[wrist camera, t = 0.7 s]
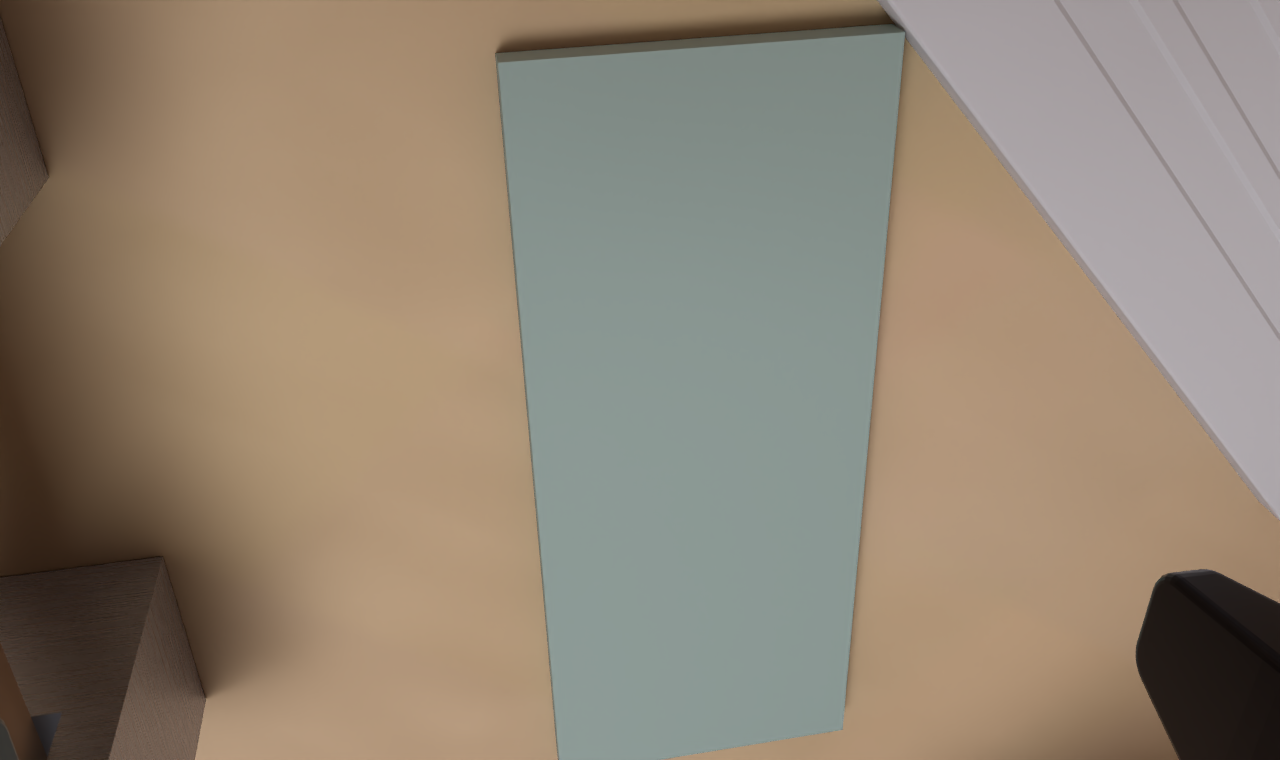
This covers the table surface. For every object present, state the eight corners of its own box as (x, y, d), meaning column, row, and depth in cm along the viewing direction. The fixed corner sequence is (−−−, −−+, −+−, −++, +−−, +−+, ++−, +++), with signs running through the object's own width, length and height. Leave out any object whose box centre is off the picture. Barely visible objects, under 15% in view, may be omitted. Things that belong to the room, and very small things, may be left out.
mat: (834, 711, 29) (842, 729, 29) (557, 756, 28) (560, 775, 28) (892, 23, 21) (905, 31, 20) (495, 52, 20) (498, 62, 19)
